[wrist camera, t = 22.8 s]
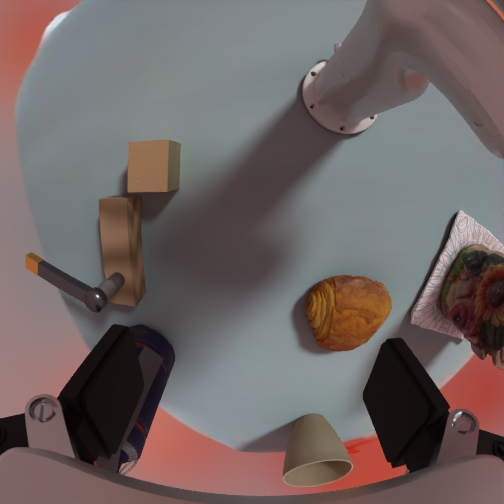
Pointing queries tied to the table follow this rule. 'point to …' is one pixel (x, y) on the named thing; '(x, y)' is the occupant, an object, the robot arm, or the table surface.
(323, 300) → the croissant
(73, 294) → the lever
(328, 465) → the plant pot
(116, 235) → the plane body
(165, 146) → the brushed brass block
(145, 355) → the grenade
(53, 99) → the table surface
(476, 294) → the cookie jar
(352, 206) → the table surface
